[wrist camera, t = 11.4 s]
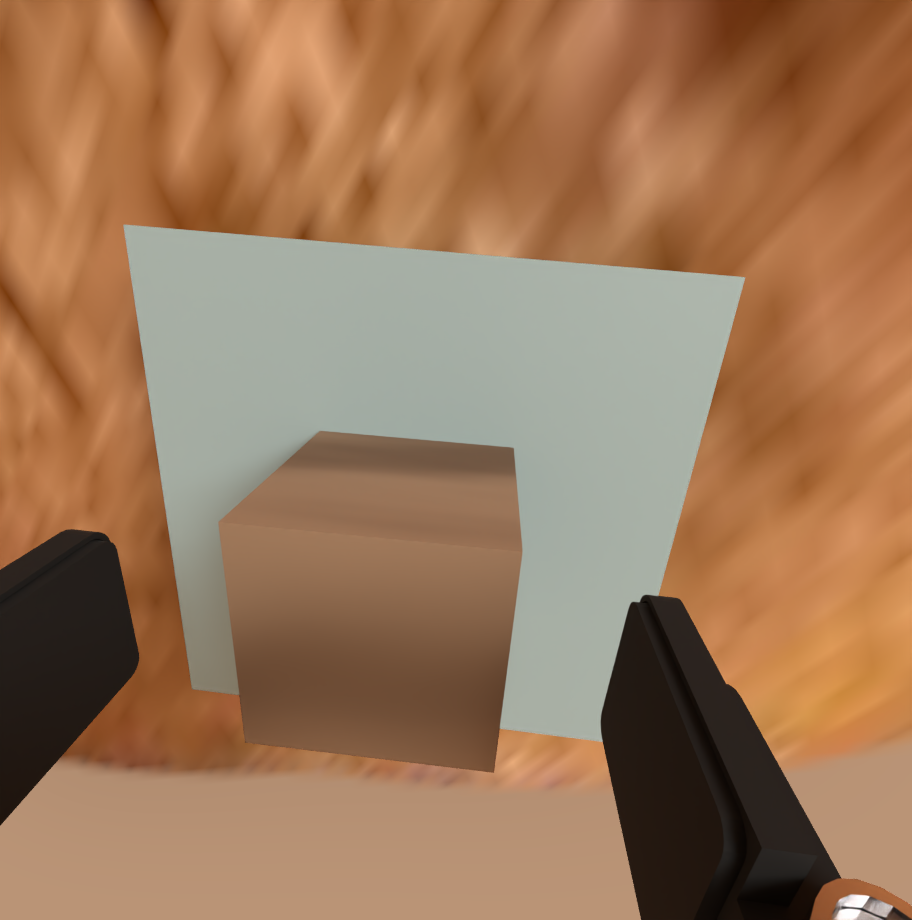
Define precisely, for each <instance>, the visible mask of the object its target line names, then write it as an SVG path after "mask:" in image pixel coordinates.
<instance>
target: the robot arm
mask: <svg viewBox="0 0 912 920" xmlns="http://www.w3.org/2000/svg"><path fill="white" fill-rule="evenodd" d="M138 662H139V652H138V647H137V643H136V638H135V633H134V628H133V624H132V619H131V614H130V609H129V605H128V600H127V595H126V591H125V586H124V581H123V576H122V572H121V567H120V562H119V557H118V553H117V549H116V546H115V545H114V544H113V543H111V542H110V540H109V538H108V537H107V536H106V535H105V534H103V533H100V532H91V531H82V530H73V529H71V530H65V531H63V532H60V533H59V534H57V535H56V536H54V537H52V538H51V539H49V540H48V541H46V542H44V543H43V544H41V545H40V546H38V547H36V548H35V549H33V550H31V551H30V552H28V553H27V554H25V555H23V556H22V557H20V558H19V559H17V560H15V561H14V562H12V563H11V564H9V565H7V566H6V567H4V568H3V569H1V570H0V825H1V824H2V823H3V822H4V821H5V820H6V818H7V817H8V816H9V815H10V814H11V813H12V812H13V810H14V809H15V808H16V807H17V806H18V805H19V804H20V803H21V801H22V800H23V799H24V798H25V797H26V796H27V795H28V793H29V792H30V791H31V790H32V789H33V788H34V786H36V784H37V783H38V782H39V781H40V780H41V779H42V778H43V776H44V775H45V774H46V773H47V772H48V771H49V770H50V769H51V767H52V766H53V765H54V764H55V763H56V762H57V761H58V759H59V758H60V757H61V756H62V755H63V754H64V753H65V752H66V750H67V749H68V748H69V747H70V746H71V745H72V744H73V742H74V741H75V740H76V739H77V738H78V737H79V736H80V735H81V733H82V732H83V731H84V730H85V729H86V728H87V727H88V725H89V724H90V723H91V722H92V721H93V720H94V719H95V717H96V716H97V715H98V714H99V713H100V712H101V711H102V710H103V708H104V707H105V706H106V705H107V704H108V703H109V702H110V700H111V699H112V698H113V697H114V696H115V695H116V694H117V693H118V691H119V690H120V689H121V688H122V687H123V686H124V685H125V683H126V682H127V681H128V680H129V679H130V678H131V677H132V675H133V674H134V672H135V670H136V668H137V665H138ZM601 735H602V740H603V745H604V749H605V754H606V759H607V763H608V768H609V773H610V777H611V782H612V787H613V791H614V796H615V800H616V805H617V810H618V814H619V819H620V824H621V828H622V833H623V837H624V842H625V847H626V851H627V856H628V860H629V865H630V870H631V875H632V879H633V884H634V888H635V893H636V898H637V902H638V907H639V912H640V916H641V920H912V906H911V905H910V904H908V903H907V902H905V901H904V900H902V899H900V898H898V897H897V896H895V895H893V894H892V893H890V892H888V891H886V890H885V889H883V888H881V887H878V886H875V885H872V884H869V883H867V882H864V881H861V880H858V879H842V878H841V877H840V875H839V873H838V871H837V869H836V868H835V866H834V864H833V862H832V860H831V859H830V857H829V855H828V853H827V851H826V850H825V848H824V846H823V844H822V842H821V841H820V839H819V837H818V835H817V833H816V832H815V830H814V828H813V826H812V824H811V823H810V821H809V819H808V817H807V815H806V813H805V812H804V810H803V808H802V806H801V805H800V803H799V801H798V799H797V797H796V795H795V794H794V792H793V790H792V788H791V787H790V785H789V783H788V781H787V779H786V777H785V776H784V774H783V772H782V770H781V768H780V767H779V765H778V763H777V761H776V759H775V758H774V756H773V754H772V752H771V750H770V748H769V747H768V745H767V743H766V741H765V739H764V738H763V736H762V734H761V732H760V730H759V729H758V727H757V725H756V723H755V721H754V720H753V718H752V716H751V714H750V712H749V711H748V709H747V707H746V705H745V703H744V702H743V700H742V698H741V697H740V695H739V694H738V692H737V691H736V690H735V689H734V688H733V687H732V686H730V685H728V684H726V683H725V681H724V679H723V678H722V676H721V674H720V672H719V670H718V668H717V666H716V664H715V663H714V661H713V659H712V657H711V655H710V653H709V651H708V650H707V648H706V646H705V644H704V642H703V640H702V638H701V636H700V635H699V633H698V631H697V629H696V627H695V625H694V623H693V622H692V620H691V618H690V616H689V614H688V612H687V610H686V608H685V607H684V605H683V603H682V602H681V600H680V599H678V598H672V597H663V596H654V595H643V596H642V598H641V600H640V602H631V604H630V606H629V609H628V612H627V616H626V620H625V624H624V628H623V632H622V635H621V639H620V643H619V647H618V651H617V655H616V658H615V662H614V666H613V670H612V674H611V678H610V682H609V685H608V689H607V693H606V697H605V701H604V705H603V709H602V713H601Z"/></svg>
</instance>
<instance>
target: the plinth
mask: <svg viewBox="0 0 912 920" xmlns="http://www.w3.org/2000/svg"><path fill="white" fill-rule="evenodd" d="M124 232H125V239H126V245H127V252H128V259H129V266H130V273H131V279H132V286H133V293H134V300H135V306H136V313H137V320H138V327H139V334H140V340H141V347H142V354H143V361H144V367H145V374H146V381H147V388H148V394H149V401H150V408H151V415H152V422H153V428H154V435H155V442H156V449H157V455H158V462H159V469H160V476H161V483H162V489H163V496H164V503H165V510H166V516H167V523H168V530H169V537H170V543H171V550H172V557H173V564H174V571H175V577H176V584H177V591H178V598H179V604H180V611H181V618H182V625H183V632H184V638H185V645H186V652H187V659H188V665H189V672H190V679H191V686H192V689H195V690H203V691H211V692H218V693H226V694H234V695H239V688H238V680H237V672H236V664H235V655H234V647H233V639H232V631H231V623H230V615H229V607H228V598H227V590H226V582H225V574H224V566H223V558H222V550H221V541H220V533H219V525H218V522H219V521H220V520H221V519H222V518H223V517H224V516H225V515H227V514H228V513H229V512H230V511H231V510H232V509H233V508H234V507H235V506H237V505H238V504H239V503H240V502H241V501H242V500H243V499H244V498H246V497H247V496H248V495H249V494H250V493H251V492H252V491H253V490H254V489H256V488H257V487H258V486H259V485H260V484H261V483H262V482H263V481H264V480H266V479H267V478H268V477H269V476H270V475H271V474H272V473H273V472H275V471H276V470H277V469H278V468H279V467H280V466H281V465H282V464H283V463H285V462H286V461H287V460H288V459H289V458H290V457H291V456H292V455H293V454H295V453H296V452H297V451H298V450H299V449H300V448H301V447H302V446H304V445H305V444H306V443H307V442H308V441H309V440H310V439H311V438H312V437H314V436H315V435H316V434H317V433H318V432H319V431H329V432H341V433H352V434H363V435H375V436H386V437H398V438H409V439H421V440H432V441H444V442H455V443H467V444H478V445H489V446H501V447H512V448H514V457H515V468H516V480H517V492H518V503H519V515H520V526H521V538H522V550H523V553H522V561H521V569H520V576H519V584H518V592H517V599H516V607H515V615H514V622H513V630H512V638H511V645H510V653H509V661H508V668H507V676H506V684H505V691H504V699H503V707H502V714H501V722H500V729H507V730H515V731H522V732H530V733H538V734H546V735H554V736H561V737H569V738H577V739H585V740H593V741H600V742H603V740H602V735H601V713H602V709H603V705H604V701H605V697H606V693H607V689H608V685H609V682H610V678H611V674H612V670H613V666H614V662H615V658H616V655H617V651H618V647H619V643H620V639H621V635H622V632H623V628H624V624H625V620H626V616H627V612H628V609H629V606H630V604H631V602H640V600H641V598H642V596H643V595H654V596H658V594H659V591H660V587H661V584H662V580H663V576H664V573H665V569H666V565H667V562H668V558H669V554H670V551H671V547H672V543H673V540H674V536H675V532H676V529H677V525H678V521H679V518H680V514H681V510H682V507H683V503H684V499H685V496H686V492H687V489H688V485H689V481H690V478H691V474H692V470H693V467H694V463H695V459H696V456H697V452H698V448H699V445H700V441H701V437H702V434H703V430H704V426H705V423H706V419H707V415H708V412H709V408H710V405H711V401H712V397H713V394H714V390H715V386H716V383H717V379H718V375H719V372H720V368H721V364H722V361H723V357H724V353H725V350H726V346H727V342H728V339H729V335H730V331H731V328H732V324H733V320H734V317H735V313H736V310H737V306H738V302H739V299H740V295H741V291H742V288H743V284H744V280H745V277H736V276H724V275H712V274H701V273H689V272H677V271H665V270H653V269H641V268H630V267H618V266H606V265H594V264H582V263H571V262H559V261H547V260H535V259H523V258H512V257H500V256H488V255H476V254H464V253H453V252H441V251H429V250H417V249H405V248H393V247H382V246H370V245H358V244H346V243H334V242H323V241H311V240H299V239H287V238H275V237H264V236H252V235H240V234H228V233H216V232H204V231H193V230H181V229H169V228H157V227H145V226H134V225H124Z"/></svg>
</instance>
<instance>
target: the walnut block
mask: <svg viewBox="0 0 912 920" xmlns="http://www.w3.org/2000/svg"><path fill="white" fill-rule="evenodd" d="M218 525H219V533H220V541H221V550H222V558H223V566H224V574H225V582H226V590H227V598H228V607H229V615H230V623H231V631H232V639H233V647H234V655H235V664H236V672H237V680H238V688H239V696H240V704H241V712H242V721H243V729H244V737H245V743H253V744H262V745H270V746H278V747H286V748H295V749H303V750H311V751H319V752H328V753H336V754H344V755H352V756H361V757H369V758H377V759H385V760H394V761H402V762H410V763H418V764H427V765H435V766H443V767H451V768H460V769H468V770H476V771H484V772H493V773H494V768H495V760H496V752H497V745H498V737H499V729H500V722H501V714H502V707H503V699H504V691H505V684H506V676H507V668H508V661H509V653H510V645H511V638H512V630H513V622H514V615H515V607H516V599H517V592H518V584H519V576H520V569H521V561H522V553H523V550H522V538H521V526H520V515H519V503H518V492H517V480H516V468H515V457H514V448H512V447H501V446H489V445H478V444H467V443H455V442H444V441H432V440H421V439H409V438H398V437H386V436H375V435H363V434H352V433H341V432H329V431H319V432H318V433H317V434H316V435H315V436H314V437H312V438H311V439H310V440H309V441H308V442H307V443H306V444H305V445H304V446H302V447H301V448H300V449H299V450H298V451H297V452H296V453H295V454H293V455H292V456H291V457H290V458H289V459H288V460H287V461H286V462H285V463H283V464H282V465H281V466H280V467H279V468H278V469H277V470H276V471H275V472H273V473H272V474H271V475H270V476H269V477H268V478H267V479H266V480H264V481H263V482H262V483H261V484H260V485H259V486H258V487H257V488H256V489H254V490H253V491H252V492H251V493H250V494H249V495H248V496H247V497H246V498H244V499H243V500H242V501H241V502H240V503H239V504H238V505H237V506H235V507H234V508H233V509H232V510H231V511H230V512H229V513H228V514H227V515H225V516H224V517H223V518H222V519H221V520H220V521H219V522H218Z"/></svg>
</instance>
